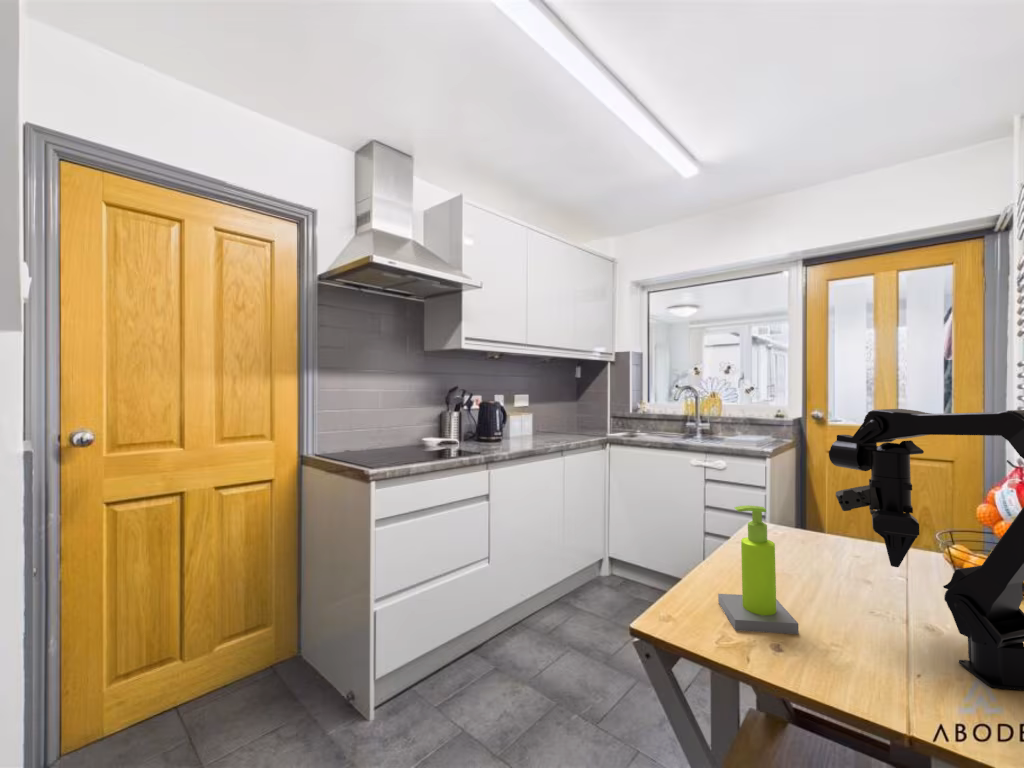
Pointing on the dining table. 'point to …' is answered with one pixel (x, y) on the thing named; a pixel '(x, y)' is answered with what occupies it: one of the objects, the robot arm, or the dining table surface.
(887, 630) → the dining table surface
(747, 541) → the soap dispenser
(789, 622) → the slate stand
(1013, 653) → the robot arm
